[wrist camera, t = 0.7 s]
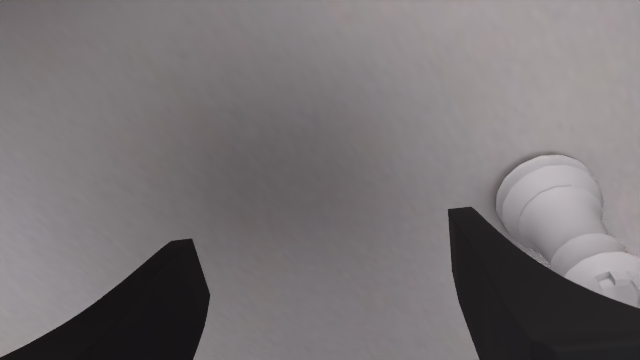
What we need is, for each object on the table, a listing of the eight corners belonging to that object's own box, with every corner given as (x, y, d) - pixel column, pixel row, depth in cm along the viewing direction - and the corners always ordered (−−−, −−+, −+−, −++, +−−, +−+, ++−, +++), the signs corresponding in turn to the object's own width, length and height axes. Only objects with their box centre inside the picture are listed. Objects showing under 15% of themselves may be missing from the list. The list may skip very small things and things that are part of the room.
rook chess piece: (606, 155, 24) (712, 261, 17) (574, 238, 26) (658, 364, 19) (506, 144, 24) (571, 246, 17) (483, 228, 26) (532, 350, 19)
